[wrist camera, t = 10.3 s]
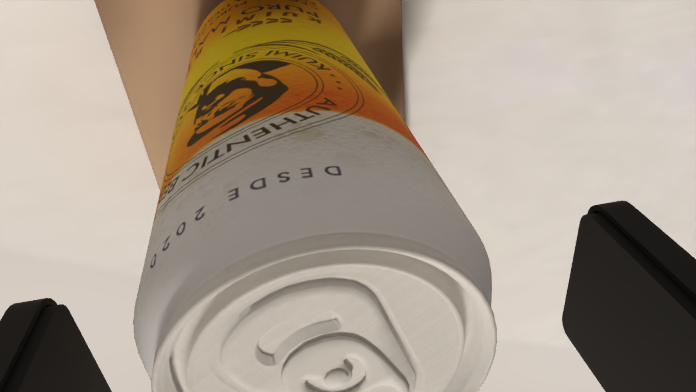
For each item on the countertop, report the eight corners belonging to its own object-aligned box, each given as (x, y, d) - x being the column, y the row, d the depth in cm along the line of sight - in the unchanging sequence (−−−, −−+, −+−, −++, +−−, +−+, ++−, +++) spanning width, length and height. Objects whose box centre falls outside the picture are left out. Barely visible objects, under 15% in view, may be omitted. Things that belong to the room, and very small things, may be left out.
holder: (387, -151, 18) (448, -157, 13) (398, 166, 25) (440, 242, 20) (64, -118, 17) (-9, -110, 12) (172, 205, 24) (156, 296, 19)
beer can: (293, -53, 18) (422, 128, 6) (374, 83, 21) (566, 383, 9) (157, 42, 19) (15, 378, 7) (255, 159, 22) (282, 527, 10)
